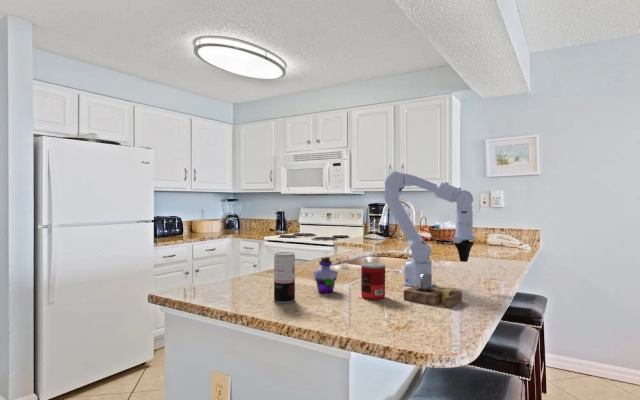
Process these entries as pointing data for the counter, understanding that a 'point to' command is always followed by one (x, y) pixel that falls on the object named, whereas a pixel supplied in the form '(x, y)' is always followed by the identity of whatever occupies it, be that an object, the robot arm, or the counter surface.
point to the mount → (431, 296)
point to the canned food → (373, 281)
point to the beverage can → (284, 277)
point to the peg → (425, 282)
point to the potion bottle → (325, 276)
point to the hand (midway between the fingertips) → (463, 261)
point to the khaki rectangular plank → (446, 293)
